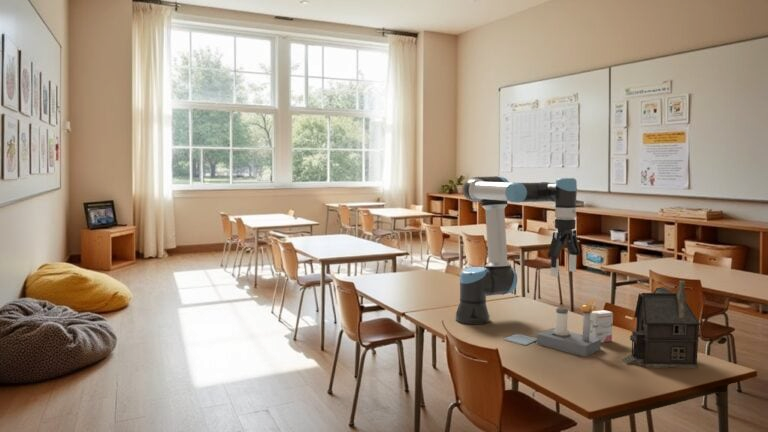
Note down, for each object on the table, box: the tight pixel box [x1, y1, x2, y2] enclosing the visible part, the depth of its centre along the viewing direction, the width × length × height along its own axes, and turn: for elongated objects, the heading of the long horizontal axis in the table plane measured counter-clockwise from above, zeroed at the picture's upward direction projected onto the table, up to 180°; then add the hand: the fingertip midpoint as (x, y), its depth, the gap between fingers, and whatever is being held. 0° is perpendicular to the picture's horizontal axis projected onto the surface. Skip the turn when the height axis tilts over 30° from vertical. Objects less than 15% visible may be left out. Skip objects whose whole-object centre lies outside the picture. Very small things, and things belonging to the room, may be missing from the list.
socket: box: [536, 312, 602, 358], centre depth 214 cm, size 20×12×15 cm, turn 44°
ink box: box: [589, 309, 614, 343], centre depth 221 cm, size 9×5×12 cm, turn 112°
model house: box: [621, 280, 702, 369], centre depth 199 cm, size 16×23×30 cm
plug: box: [553, 307, 571, 338], centre depth 216 cm, size 6×6×14 cm
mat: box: [503, 333, 537, 346], centre depth 222 cm, size 10×10×1 cm
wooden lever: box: [581, 298, 598, 314], centre depth 213 cm, size 16×4×5 cm, turn 149°
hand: (563, 273), depth 214 cm, fingers open, 13 cm apart
